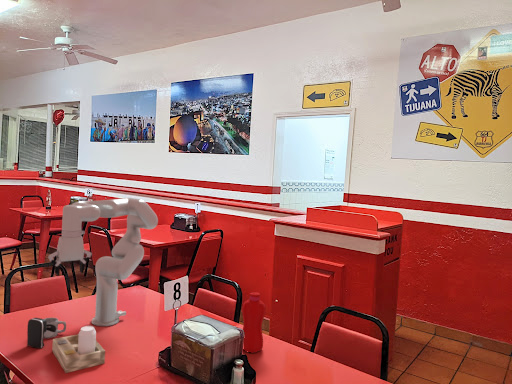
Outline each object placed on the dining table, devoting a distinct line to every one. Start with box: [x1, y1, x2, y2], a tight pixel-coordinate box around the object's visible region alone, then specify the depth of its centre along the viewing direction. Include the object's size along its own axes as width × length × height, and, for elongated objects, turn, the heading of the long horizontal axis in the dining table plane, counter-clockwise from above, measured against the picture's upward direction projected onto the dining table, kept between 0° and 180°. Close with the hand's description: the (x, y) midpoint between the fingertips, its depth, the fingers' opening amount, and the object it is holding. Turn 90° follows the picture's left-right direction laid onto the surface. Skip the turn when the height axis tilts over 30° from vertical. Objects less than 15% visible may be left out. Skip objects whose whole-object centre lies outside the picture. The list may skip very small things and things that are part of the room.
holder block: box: [51, 333, 106, 374], centre depth 159 cm, size 14×20×5 cm
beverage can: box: [78, 325, 97, 355], centre depth 157 cm, size 6×6×12 cm
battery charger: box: [26, 317, 47, 349], centre depth 166 cm, size 7×4×11 cm, turn 74°
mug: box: [43, 317, 67, 339], centre depth 178 cm, size 10×7×7 cm, turn 112°
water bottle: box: [241, 292, 266, 354], centre depth 178 cm, size 9×11×25 cm
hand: (69, 273), depth 174 cm, fingers open, 9 cm apart
